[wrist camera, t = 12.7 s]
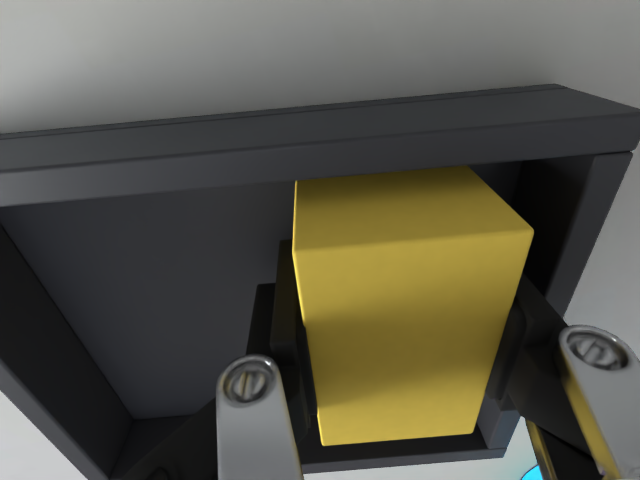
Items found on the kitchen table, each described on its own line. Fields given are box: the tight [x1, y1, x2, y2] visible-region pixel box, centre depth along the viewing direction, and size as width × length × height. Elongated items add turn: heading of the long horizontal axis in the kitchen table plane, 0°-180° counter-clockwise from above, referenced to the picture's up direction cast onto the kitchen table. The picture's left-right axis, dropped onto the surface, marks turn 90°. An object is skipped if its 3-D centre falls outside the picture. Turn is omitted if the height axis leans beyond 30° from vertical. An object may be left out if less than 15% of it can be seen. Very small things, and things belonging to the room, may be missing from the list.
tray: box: [0, 84, 640, 480], centre depth 12 cm, size 14×17×3 cm
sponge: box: [292, 166, 534, 446], centre depth 10 cm, size 7×4×4 cm, turn 5°
